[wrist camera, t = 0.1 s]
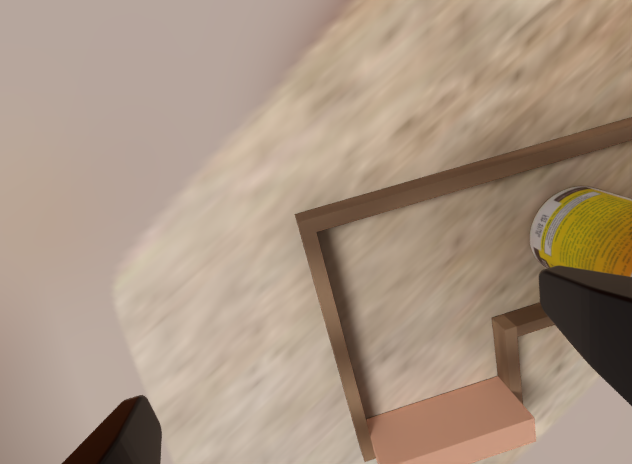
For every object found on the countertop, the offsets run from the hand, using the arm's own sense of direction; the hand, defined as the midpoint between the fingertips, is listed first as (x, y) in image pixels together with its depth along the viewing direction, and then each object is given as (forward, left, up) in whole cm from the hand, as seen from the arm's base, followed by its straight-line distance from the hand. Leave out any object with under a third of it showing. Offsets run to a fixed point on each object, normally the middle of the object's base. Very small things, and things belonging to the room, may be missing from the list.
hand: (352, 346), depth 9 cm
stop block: (-18, -6, -15) cm, 24 cm away
